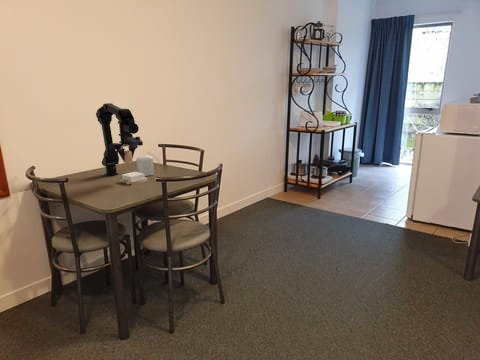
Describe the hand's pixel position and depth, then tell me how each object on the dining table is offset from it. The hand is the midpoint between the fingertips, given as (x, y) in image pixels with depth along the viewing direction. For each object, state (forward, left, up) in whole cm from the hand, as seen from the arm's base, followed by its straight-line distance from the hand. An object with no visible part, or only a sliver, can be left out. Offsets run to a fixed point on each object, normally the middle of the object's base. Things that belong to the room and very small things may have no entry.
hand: (127, 159), depth 204 cm
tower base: (+1, +2, -14) cm, 14 cm away
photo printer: (-4, +15, -13) cm, 21 cm away
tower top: (+1, +2, -11) cm, 12 cm away
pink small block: (0, 0, -1) cm, 1 cm away
